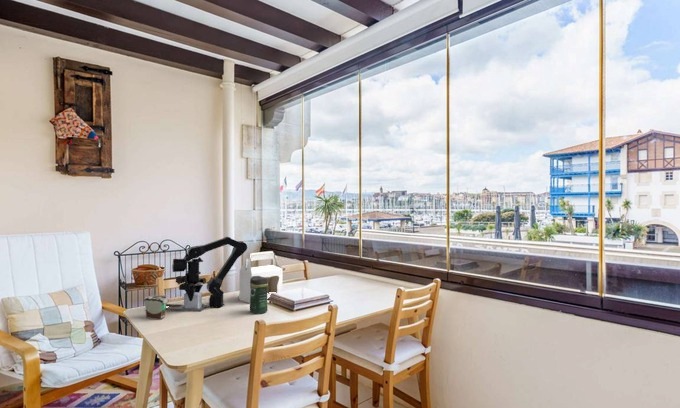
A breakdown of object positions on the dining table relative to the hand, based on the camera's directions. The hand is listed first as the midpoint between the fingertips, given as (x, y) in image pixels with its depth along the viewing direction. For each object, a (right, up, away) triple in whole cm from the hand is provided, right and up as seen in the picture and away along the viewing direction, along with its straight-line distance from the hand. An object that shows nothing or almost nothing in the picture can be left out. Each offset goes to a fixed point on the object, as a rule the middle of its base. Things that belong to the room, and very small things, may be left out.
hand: (192, 299), depth 194 cm
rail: (-6, -5, +1) cm, 8 cm away
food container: (-11, -5, -14) cm, 19 cm away
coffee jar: (+36, -6, -3) cm, 36 cm away
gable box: (+31, -6, +24) cm, 40 cm away
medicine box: (0, -5, 0) cm, 5 cm away
